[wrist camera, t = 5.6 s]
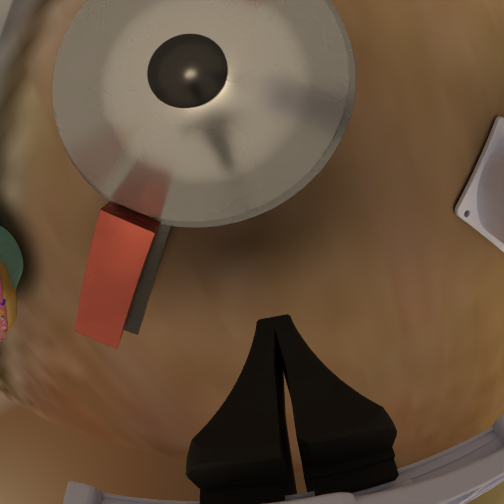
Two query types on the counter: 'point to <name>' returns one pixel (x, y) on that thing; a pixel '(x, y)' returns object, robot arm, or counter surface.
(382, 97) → the counter surface
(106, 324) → the lid
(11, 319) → the cupcake
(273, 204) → the pot
